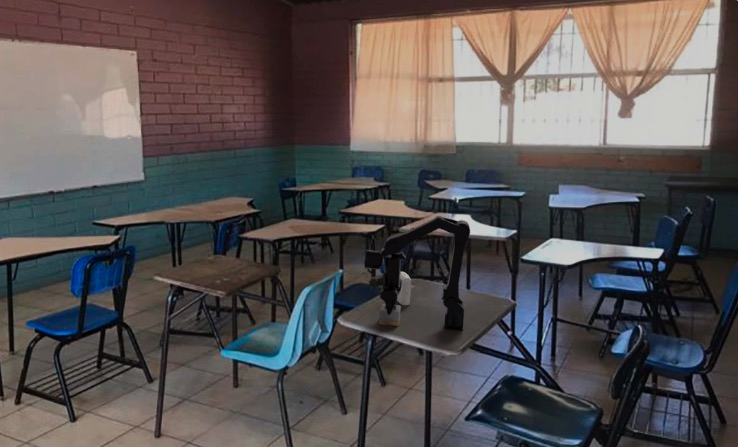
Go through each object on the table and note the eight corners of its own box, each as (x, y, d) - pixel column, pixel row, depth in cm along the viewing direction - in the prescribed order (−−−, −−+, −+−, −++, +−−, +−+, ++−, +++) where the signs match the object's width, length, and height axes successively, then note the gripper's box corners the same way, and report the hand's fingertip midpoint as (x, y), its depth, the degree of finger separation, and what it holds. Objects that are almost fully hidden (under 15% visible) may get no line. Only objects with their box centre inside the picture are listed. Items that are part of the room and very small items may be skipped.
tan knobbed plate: (400, 319, 237) (400, 304, 235) (398, 325, 230) (398, 310, 229) (381, 317, 238) (382, 302, 236) (379, 324, 231) (380, 308, 230)
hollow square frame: (400, 315, 236) (400, 305, 236) (398, 321, 230) (398, 311, 229) (381, 313, 237) (382, 303, 237) (379, 320, 231) (380, 309, 230)
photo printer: (411, 305, 254) (412, 275, 251) (401, 305, 252) (402, 276, 250) (402, 297, 263) (404, 269, 261) (392, 297, 262) (394, 269, 259)
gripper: (374, 261, 240) (372, 300, 243) (366, 275, 222) (365, 316, 225) (403, 264, 238) (401, 303, 241) (398, 277, 220) (395, 319, 223)
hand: (390, 310), depth 233 cm, fingers open, 9 cm apart
